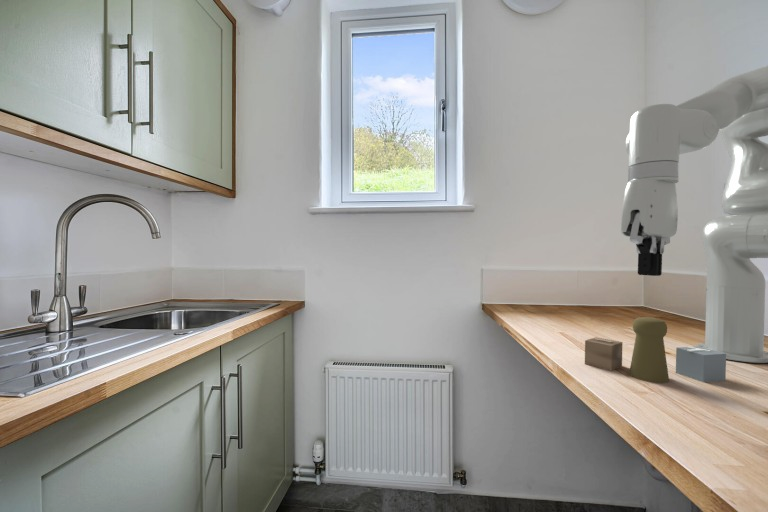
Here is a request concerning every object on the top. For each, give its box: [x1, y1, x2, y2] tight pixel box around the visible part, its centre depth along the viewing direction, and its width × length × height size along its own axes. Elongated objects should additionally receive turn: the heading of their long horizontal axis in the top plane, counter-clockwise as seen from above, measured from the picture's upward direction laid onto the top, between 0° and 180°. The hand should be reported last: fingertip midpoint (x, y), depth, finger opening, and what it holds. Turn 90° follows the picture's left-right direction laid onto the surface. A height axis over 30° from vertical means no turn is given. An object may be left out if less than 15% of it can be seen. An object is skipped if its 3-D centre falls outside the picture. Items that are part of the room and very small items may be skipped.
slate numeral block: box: [675, 345, 727, 383], centre depth 68 cm, size 5×5×5 cm
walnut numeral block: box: [584, 336, 623, 372], centre depth 74 cm, size 5×5×5 cm
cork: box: [628, 316, 670, 384], centre depth 67 cm, size 6×6×11 cm
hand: (649, 275), depth 67 cm, fingers closed
